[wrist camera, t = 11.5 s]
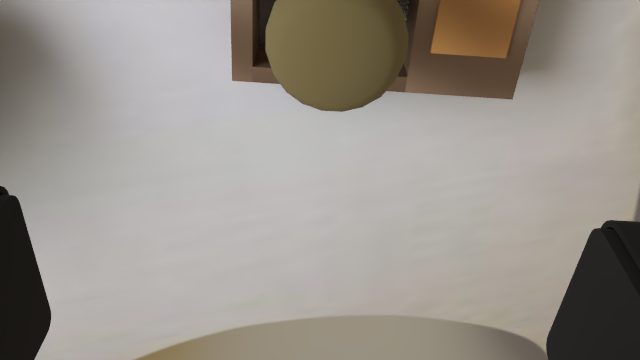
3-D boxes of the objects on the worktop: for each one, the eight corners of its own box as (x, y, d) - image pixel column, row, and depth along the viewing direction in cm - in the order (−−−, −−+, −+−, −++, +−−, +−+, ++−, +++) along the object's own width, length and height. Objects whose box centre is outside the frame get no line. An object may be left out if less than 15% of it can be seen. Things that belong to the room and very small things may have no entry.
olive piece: (412, -78, 28) (450, -8, 19) (378, 42, 31) (397, 150, 22) (286, -108, 28) (262, -50, 18) (265, 18, 31) (237, 119, 22)
